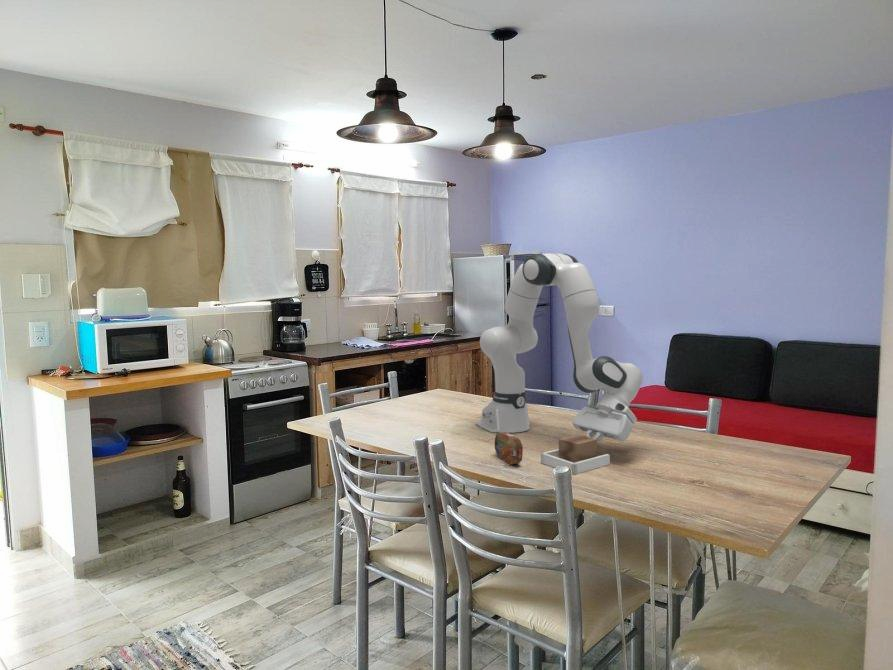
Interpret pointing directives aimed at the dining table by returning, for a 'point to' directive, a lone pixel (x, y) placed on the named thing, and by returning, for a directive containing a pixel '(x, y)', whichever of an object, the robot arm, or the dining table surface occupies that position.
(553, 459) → the white u-shaped frame
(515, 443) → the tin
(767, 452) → the dining table surface
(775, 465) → the dining table surface
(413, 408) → the dining table surface
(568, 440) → the walnut block
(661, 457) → the dining table surface
